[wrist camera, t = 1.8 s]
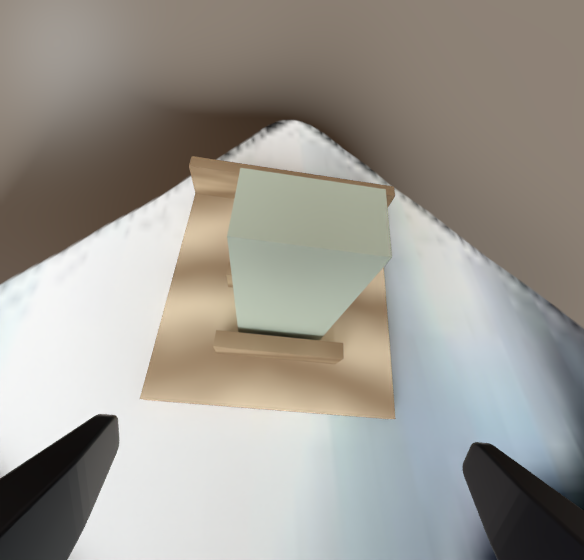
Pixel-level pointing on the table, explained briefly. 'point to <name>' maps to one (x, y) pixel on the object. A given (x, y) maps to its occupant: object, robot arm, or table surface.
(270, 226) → the tall block
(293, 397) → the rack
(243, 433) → the table surface
